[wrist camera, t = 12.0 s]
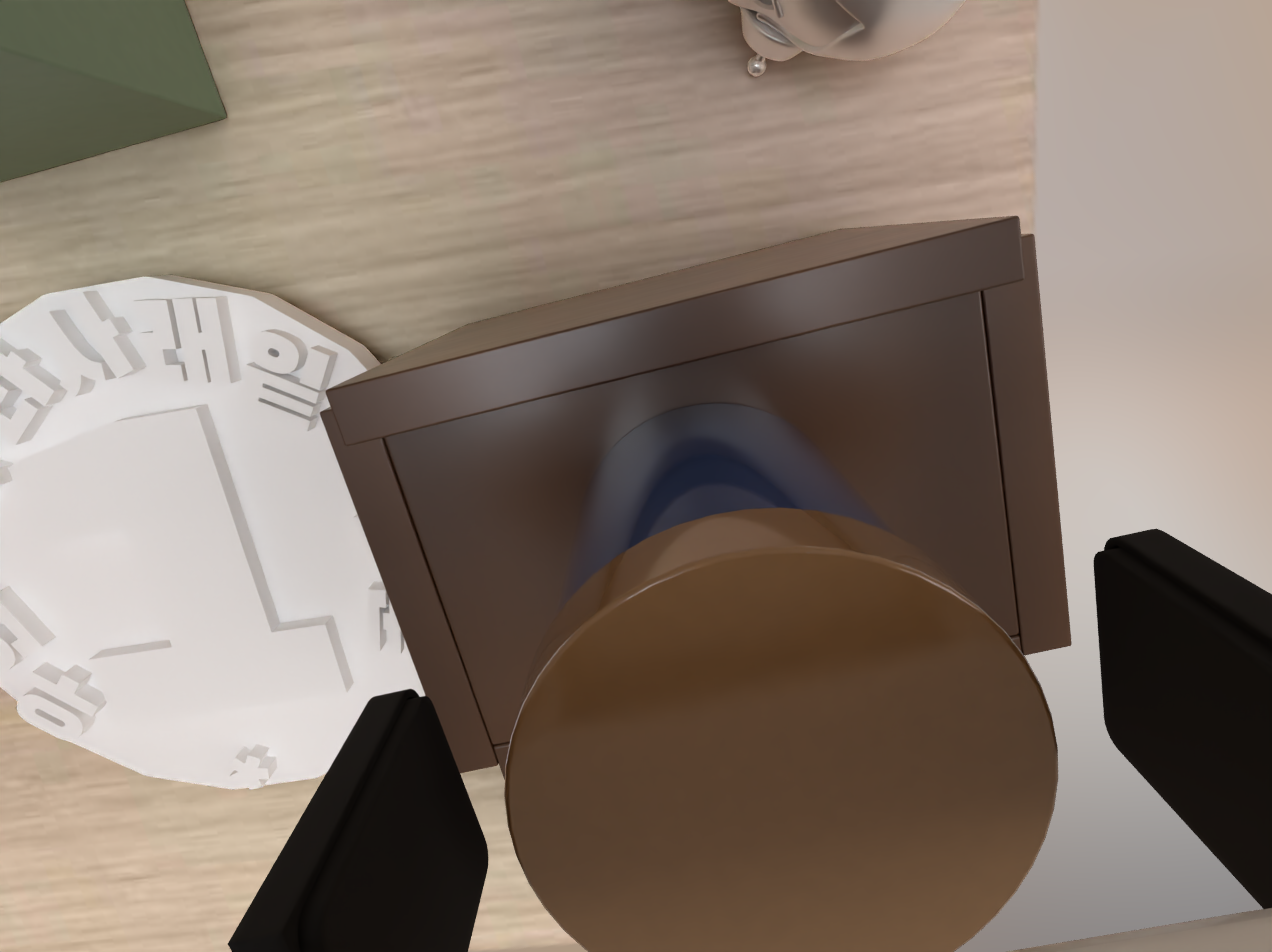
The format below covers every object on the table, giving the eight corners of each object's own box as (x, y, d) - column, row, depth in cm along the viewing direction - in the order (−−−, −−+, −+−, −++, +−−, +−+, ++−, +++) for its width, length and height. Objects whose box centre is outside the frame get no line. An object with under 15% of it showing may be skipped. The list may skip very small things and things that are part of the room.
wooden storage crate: (875, 220, 26) (1086, 198, 14) (949, 719, 32) (1145, 1020, 20) (435, 332, 27) (266, 404, 15) (583, 794, 33) (550, 1121, 21)
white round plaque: (-20, 709, 32) (-83, 753, 29) (-56, 228, 27) (-138, 226, 24) (450, 784, 33) (432, 834, 30) (512, 335, 27) (498, 346, 25)
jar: (831, 361, 17) (1033, 485, 8) (877, 630, 19) (1081, 962, 10) (534, 433, 17) (429, 622, 9) (609, 688, 19) (584, 1050, 11)
